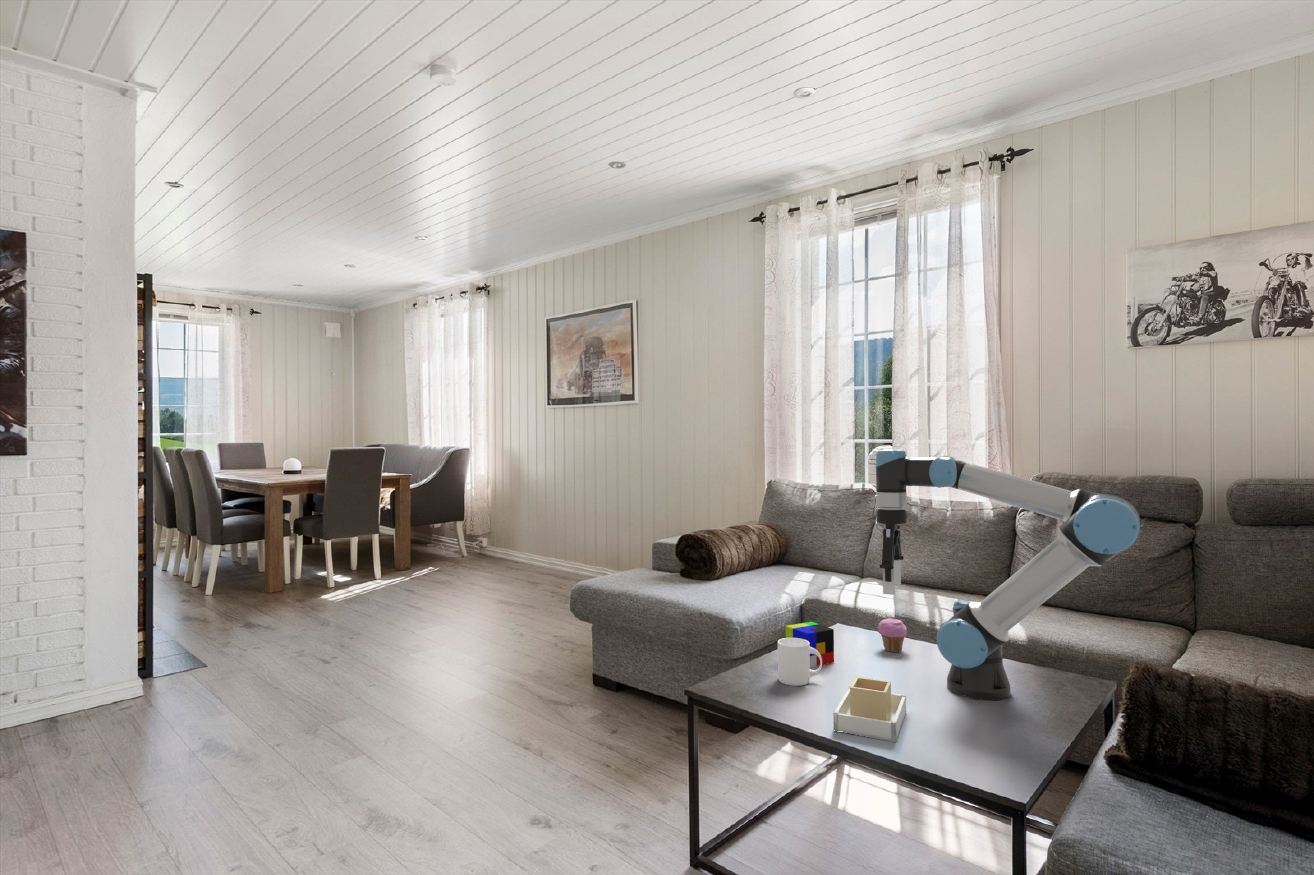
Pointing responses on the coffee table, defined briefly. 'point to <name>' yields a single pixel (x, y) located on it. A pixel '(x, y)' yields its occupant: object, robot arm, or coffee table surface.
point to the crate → (871, 720)
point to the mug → (795, 661)
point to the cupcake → (892, 634)
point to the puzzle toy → (815, 640)
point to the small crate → (870, 698)
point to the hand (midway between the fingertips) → (892, 589)
